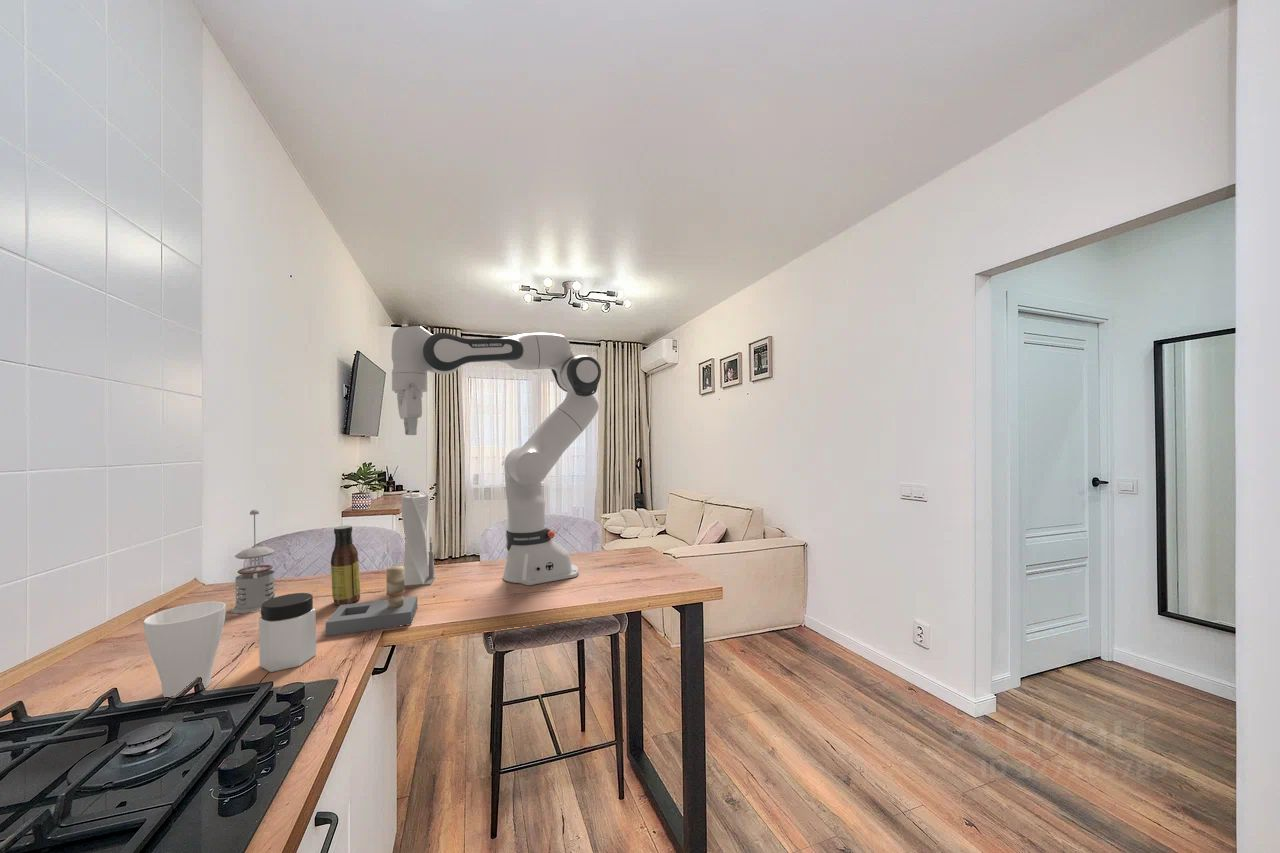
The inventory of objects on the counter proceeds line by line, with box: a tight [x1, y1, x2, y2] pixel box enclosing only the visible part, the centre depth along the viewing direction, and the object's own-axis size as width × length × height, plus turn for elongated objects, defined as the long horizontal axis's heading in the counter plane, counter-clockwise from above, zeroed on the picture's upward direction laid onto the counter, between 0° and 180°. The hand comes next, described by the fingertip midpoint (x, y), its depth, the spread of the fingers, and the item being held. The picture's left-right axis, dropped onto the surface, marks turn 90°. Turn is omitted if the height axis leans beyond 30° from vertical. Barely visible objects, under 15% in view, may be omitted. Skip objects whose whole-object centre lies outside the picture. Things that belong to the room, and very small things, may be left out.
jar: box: [258, 592, 317, 673], centre depth 93 cm, size 9×8×12 cm
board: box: [325, 595, 418, 637], centre depth 112 cm, size 17×11×3 cm, turn 108°
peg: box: [385, 565, 406, 608], centre depth 114 cm, size 4×4×9 cm
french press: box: [230, 509, 276, 614], centre depth 124 cm, size 10×12×25 cm
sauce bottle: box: [330, 525, 361, 606], centre depth 125 cm, size 6×6×20 cm
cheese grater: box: [400, 488, 436, 588], centre depth 140 cm, size 8×8×28 cm
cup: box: [143, 601, 227, 698], centre depth 83 cm, size 10×10×14 cm
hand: (410, 435), depth 131 cm, fingers open, 8 cm apart
